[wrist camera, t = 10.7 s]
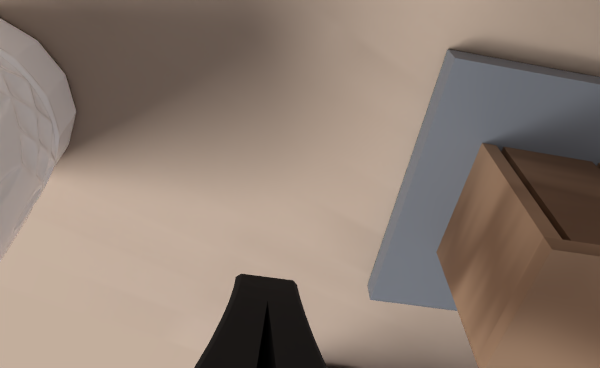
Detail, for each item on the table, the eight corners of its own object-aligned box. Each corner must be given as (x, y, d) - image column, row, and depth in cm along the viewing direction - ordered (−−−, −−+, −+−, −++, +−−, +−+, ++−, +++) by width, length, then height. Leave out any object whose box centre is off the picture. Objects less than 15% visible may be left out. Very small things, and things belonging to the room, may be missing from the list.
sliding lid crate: (552, 268, 25) (630, 392, 19) (436, 252, 24) (481, 375, 18) (612, 164, 22) (725, 274, 16) (481, 142, 21) (552, 249, 15)
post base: (556, 309, 27) (605, 394, 23) (367, 285, 26) (382, 369, 22) (688, 93, 21) (788, 154, 17) (447, 49, 20) (490, 102, 16)
